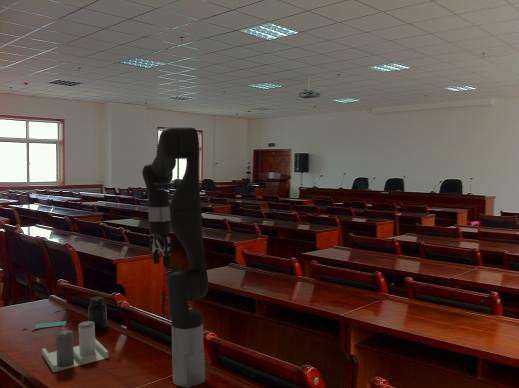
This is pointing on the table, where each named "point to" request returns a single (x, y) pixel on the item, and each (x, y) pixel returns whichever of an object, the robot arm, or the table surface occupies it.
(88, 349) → the white cylinder
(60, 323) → the surgical mask
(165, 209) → the robot arm
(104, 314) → the supplement bottle
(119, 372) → the table surface
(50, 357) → the divided tray
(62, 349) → the grey cylinder
